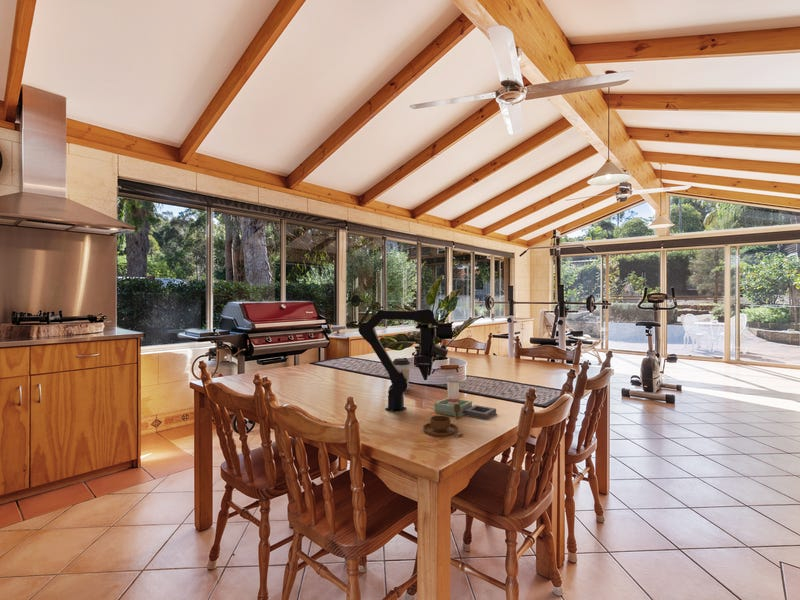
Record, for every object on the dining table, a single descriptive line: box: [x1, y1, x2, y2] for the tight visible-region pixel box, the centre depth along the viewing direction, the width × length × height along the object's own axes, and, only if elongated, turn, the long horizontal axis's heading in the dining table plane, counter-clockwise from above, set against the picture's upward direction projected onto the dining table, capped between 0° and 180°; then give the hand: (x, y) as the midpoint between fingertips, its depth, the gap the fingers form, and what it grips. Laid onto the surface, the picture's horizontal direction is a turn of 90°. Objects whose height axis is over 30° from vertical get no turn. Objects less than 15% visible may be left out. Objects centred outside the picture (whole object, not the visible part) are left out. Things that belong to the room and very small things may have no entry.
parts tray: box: [433, 397, 473, 417], centre depth 162 cm, size 11×11×4 cm
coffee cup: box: [392, 357, 411, 391], centre depth 200 cm, size 9×9×15 cm
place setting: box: [422, 404, 464, 439], centre depth 141 cm, size 18×20×6 cm
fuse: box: [446, 375, 460, 406], centre depth 162 cm, size 5×5×13 cm
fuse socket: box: [464, 404, 497, 420], centre depth 157 cm, size 9×9×2 cm
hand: (427, 377), depth 164 cm, fingers open, 9 cm apart
